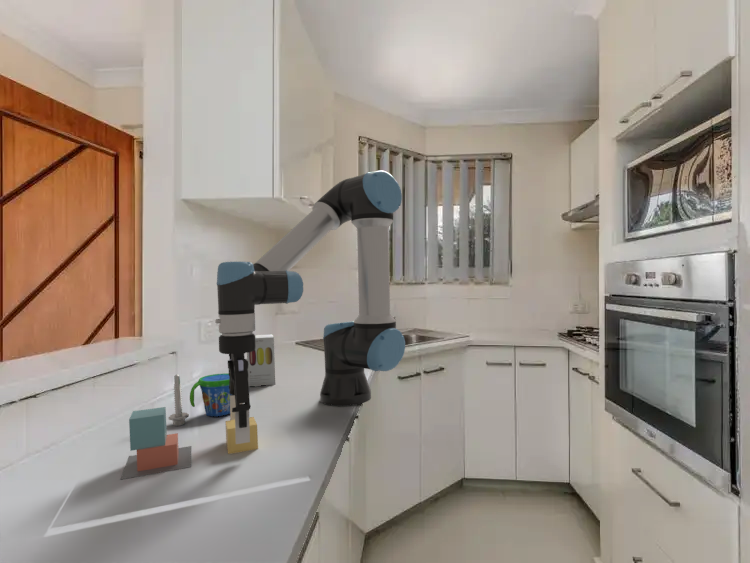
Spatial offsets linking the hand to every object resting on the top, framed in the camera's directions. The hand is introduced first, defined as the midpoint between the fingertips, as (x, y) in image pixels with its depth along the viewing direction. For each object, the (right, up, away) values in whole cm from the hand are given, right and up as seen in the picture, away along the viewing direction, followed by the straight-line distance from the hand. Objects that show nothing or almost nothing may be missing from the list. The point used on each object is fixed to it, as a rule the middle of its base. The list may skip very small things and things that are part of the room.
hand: (239, 432), depth 96 cm
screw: (-22, -5, +20) cm, 30 cm away
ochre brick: (0, -4, 0) cm, 4 cm away
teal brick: (-16, 0, -7) cm, 17 cm away
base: (-14, -5, -6) cm, 16 cm away
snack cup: (-14, -4, +28) cm, 31 cm away
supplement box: (-11, -4, +63) cm, 64 cm away
